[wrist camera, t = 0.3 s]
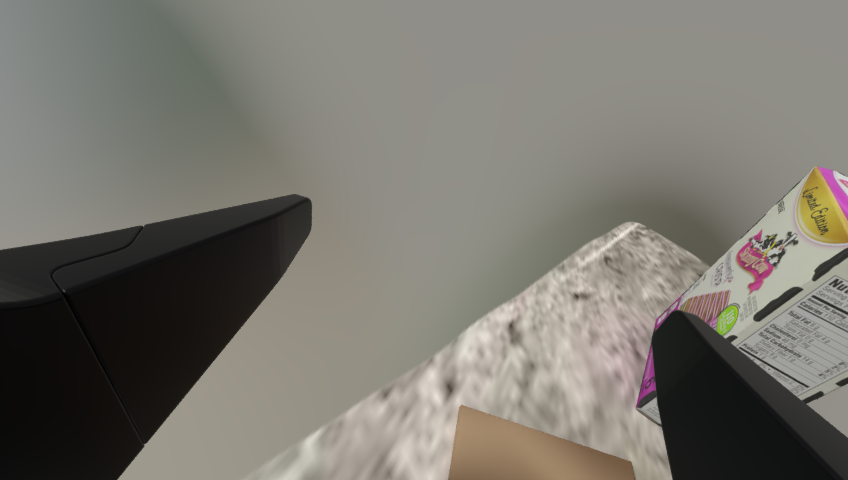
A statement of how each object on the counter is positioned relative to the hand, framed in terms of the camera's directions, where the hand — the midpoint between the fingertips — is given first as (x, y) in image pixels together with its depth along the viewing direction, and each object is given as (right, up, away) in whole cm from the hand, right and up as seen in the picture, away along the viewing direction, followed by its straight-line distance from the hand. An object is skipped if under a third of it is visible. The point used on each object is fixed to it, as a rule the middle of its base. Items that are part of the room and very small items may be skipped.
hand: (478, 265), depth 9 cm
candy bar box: (+18, -10, +20) cm, 29 cm away
